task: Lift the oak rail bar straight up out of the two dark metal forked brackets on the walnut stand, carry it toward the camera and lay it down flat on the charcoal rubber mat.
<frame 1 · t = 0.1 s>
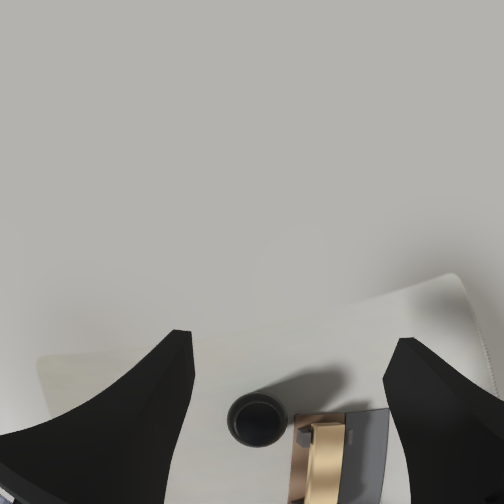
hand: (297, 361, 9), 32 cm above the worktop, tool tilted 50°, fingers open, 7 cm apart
supplement bottle: (255, 414, 36), on the worktop
rail: (319, 475, 28), point 3 cm above the worktop, touching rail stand
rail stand: (314, 470, 31), on the worktop
mat: (363, 465, 31), on the worktop
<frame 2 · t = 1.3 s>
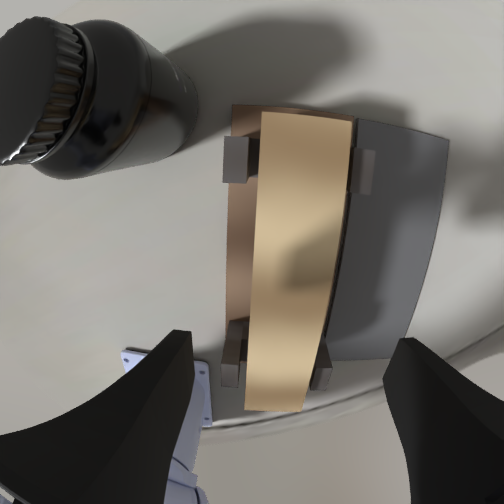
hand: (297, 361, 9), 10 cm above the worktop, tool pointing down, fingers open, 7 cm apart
supplement bottle: (149, 111, 16), on the worktop
rail: (285, 270, 16), point 3 cm above the worktop, touching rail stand
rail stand: (282, 251, 19), on the worktop
mat: (386, 258, 19), on the worktop
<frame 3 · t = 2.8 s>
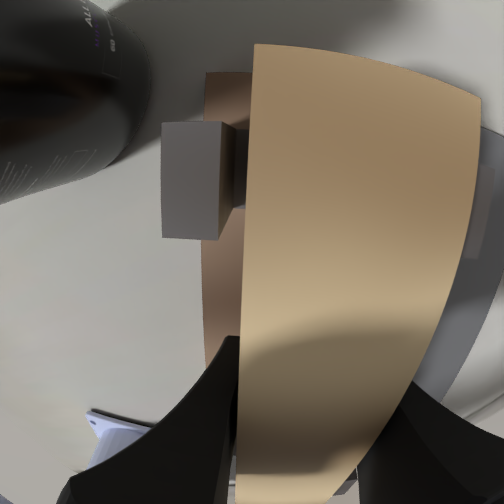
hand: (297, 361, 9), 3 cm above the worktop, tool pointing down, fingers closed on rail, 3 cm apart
supplement bottle: (84, 98, 9), on the worktop
rail: (297, 363, 9), point 3 cm above the worktop, touching gripper, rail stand
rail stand: (291, 314, 12), on the worktop
mat: (438, 315, 12), on the worktop
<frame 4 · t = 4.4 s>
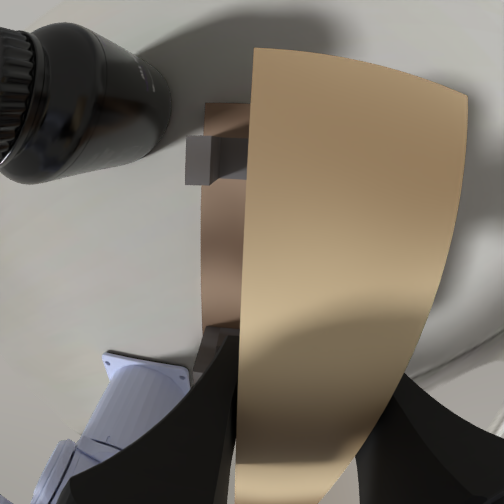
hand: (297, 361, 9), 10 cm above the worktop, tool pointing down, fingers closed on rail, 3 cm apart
supplement bottle: (125, 112, 15), on the worktop
rail: (296, 355, 9), point 9 cm above the worktop, touching gripper
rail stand: (259, 255, 18), on the worktop
when the fingers open (2 cm above the worktop, at t = 6.3 s): rail stays where it is, resting on mat.
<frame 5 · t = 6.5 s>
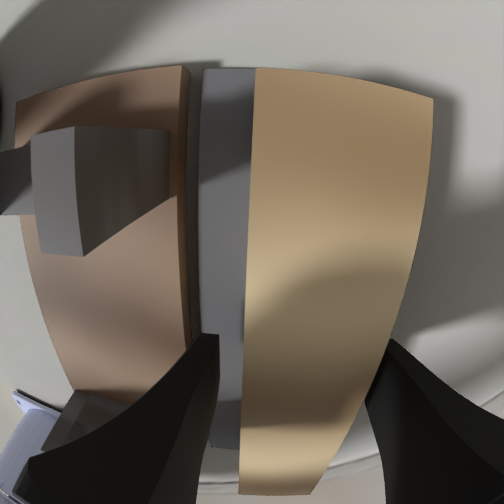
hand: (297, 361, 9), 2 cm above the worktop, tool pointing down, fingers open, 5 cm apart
rail: (295, 334, 10), resting on mat
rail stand: (112, 312, 11), on the worktop
mat: (293, 330, 11), on the worktop
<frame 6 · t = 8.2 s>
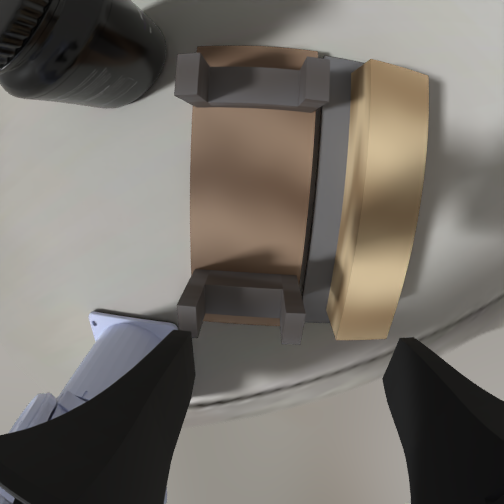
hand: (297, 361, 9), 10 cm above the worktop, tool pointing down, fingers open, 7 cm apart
supplement bottle: (122, 63, 15), on the worktop
rail: (369, 200, 17), resting on mat
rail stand: (250, 190, 17), on the worktop
mat: (366, 200, 17), on the worktop
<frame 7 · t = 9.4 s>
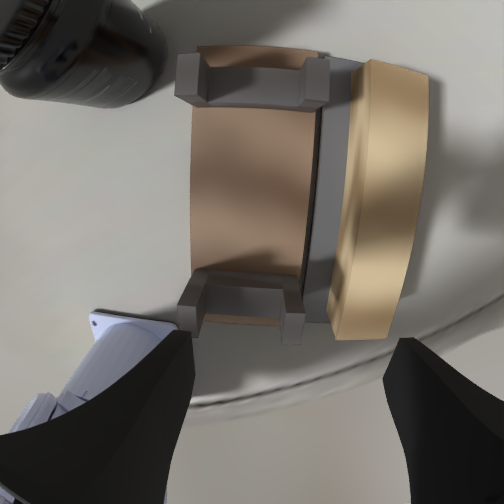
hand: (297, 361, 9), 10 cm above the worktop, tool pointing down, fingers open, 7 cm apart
supplement bottle: (122, 63, 15), on the worktop
rail: (368, 200, 17), resting on mat
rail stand: (249, 190, 17), on the worktop
mat: (366, 200, 17), on the worktop
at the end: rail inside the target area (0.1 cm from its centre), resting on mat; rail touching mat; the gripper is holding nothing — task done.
